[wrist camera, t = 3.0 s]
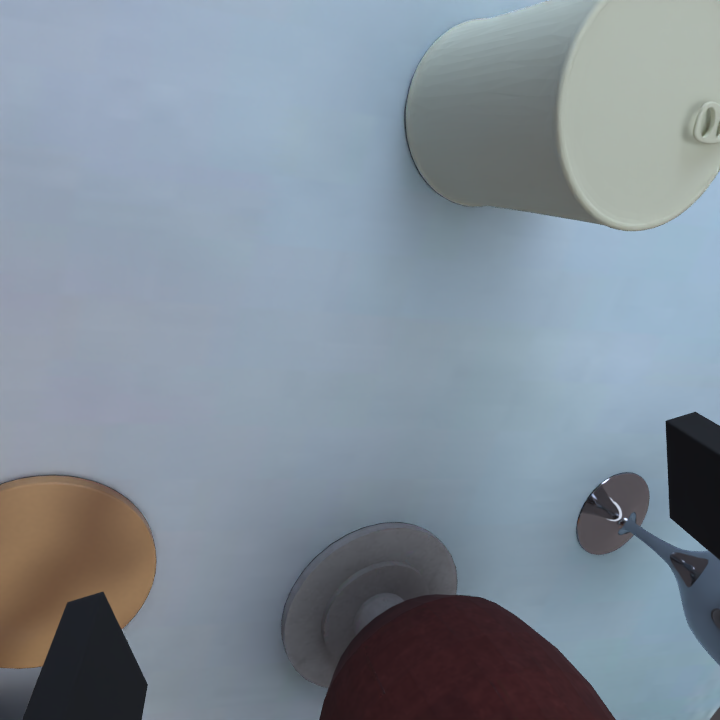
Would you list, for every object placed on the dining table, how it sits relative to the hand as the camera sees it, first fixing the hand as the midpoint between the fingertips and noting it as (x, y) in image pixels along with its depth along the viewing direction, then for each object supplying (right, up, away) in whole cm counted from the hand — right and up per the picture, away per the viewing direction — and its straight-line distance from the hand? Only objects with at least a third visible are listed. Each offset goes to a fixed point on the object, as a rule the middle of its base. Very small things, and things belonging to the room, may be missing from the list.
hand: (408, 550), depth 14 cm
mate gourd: (-1, -12, +27) cm, 29 cm away
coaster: (-17, -6, +17) cm, 25 cm away
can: (+5, +17, +19) cm, 26 cm away
